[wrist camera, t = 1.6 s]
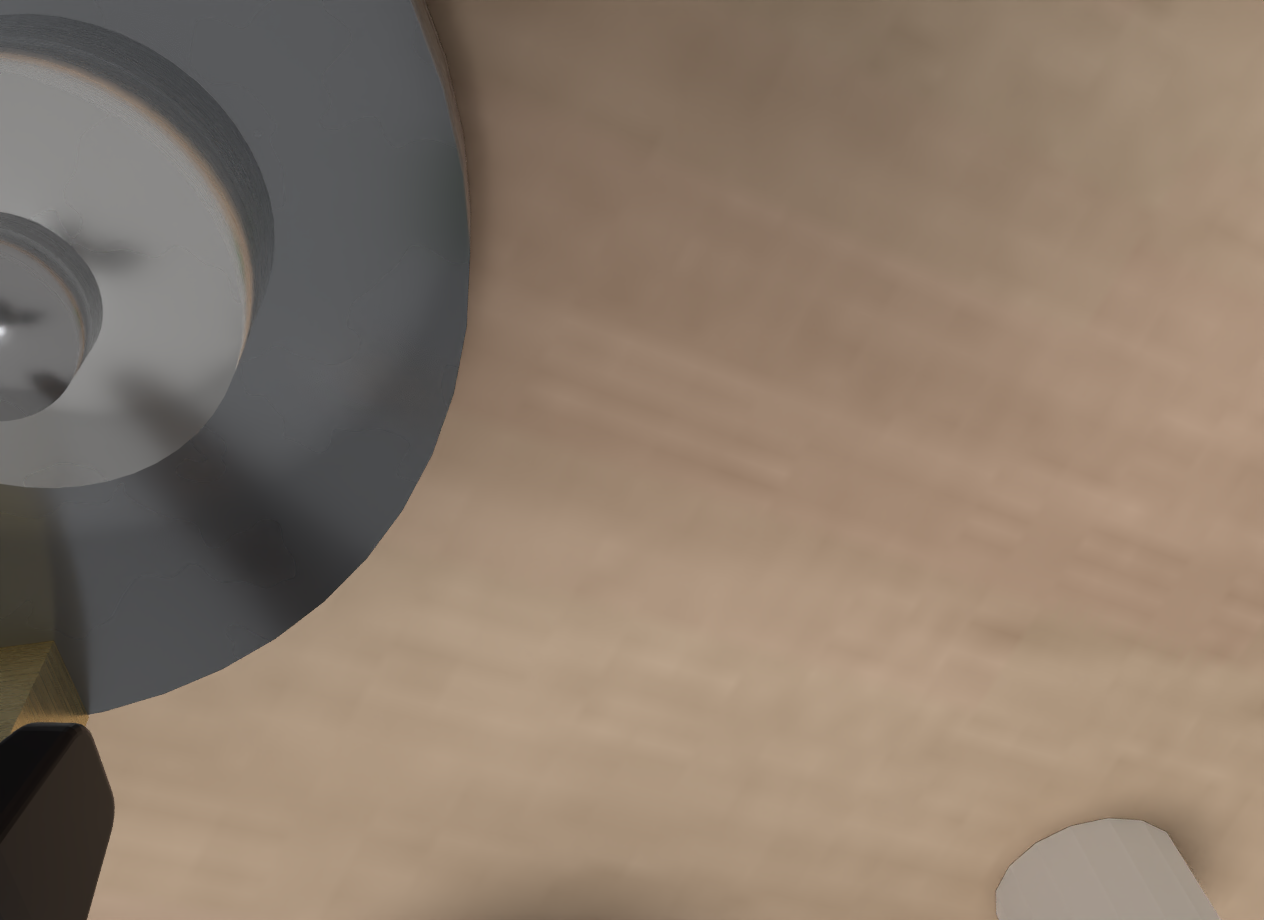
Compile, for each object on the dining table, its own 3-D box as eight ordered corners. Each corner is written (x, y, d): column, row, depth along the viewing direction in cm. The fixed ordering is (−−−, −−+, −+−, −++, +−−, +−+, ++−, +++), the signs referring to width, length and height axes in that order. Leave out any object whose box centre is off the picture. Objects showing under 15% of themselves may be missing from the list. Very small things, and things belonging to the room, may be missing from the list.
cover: (-49, 411, 20) (-168, 562, 16) (-218, 38, 16) (-413, 123, 13) (313, 366, 20) (276, 505, 16) (217, -8, 17) (145, 62, 13)
